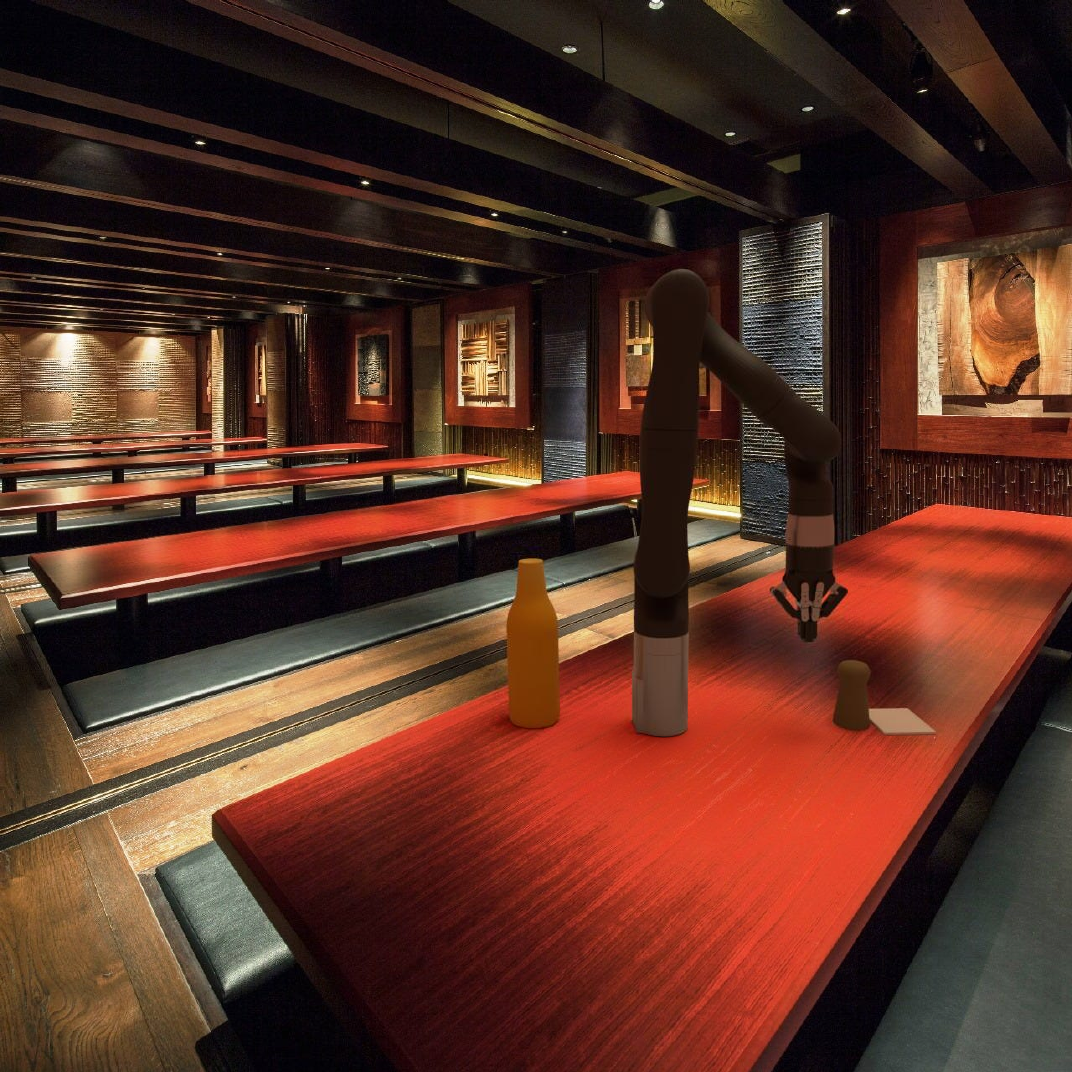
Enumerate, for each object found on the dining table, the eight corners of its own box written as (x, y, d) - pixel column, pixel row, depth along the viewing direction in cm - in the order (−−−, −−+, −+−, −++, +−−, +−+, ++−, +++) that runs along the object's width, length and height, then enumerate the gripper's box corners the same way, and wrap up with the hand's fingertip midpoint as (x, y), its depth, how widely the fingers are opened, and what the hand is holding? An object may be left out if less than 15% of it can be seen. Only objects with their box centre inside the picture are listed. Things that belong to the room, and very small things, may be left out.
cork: (838, 713, 134) (841, 654, 132) (874, 721, 130) (877, 660, 128) (827, 724, 129) (830, 663, 127) (864, 733, 125) (867, 670, 124)
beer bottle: (504, 728, 131) (498, 565, 126) (514, 707, 140) (509, 555, 135) (556, 730, 129) (553, 566, 124) (563, 709, 138) (560, 555, 133)
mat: (884, 734, 125) (884, 732, 125) (859, 711, 134) (859, 708, 134) (935, 734, 124) (936, 731, 124) (907, 710, 134) (907, 708, 134)
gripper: (776, 546, 121) (774, 649, 124) (859, 543, 120) (855, 646, 123) (763, 538, 128) (761, 635, 131) (840, 535, 128) (837, 633, 131)
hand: (807, 640), depth 127 cm, fingers closed
